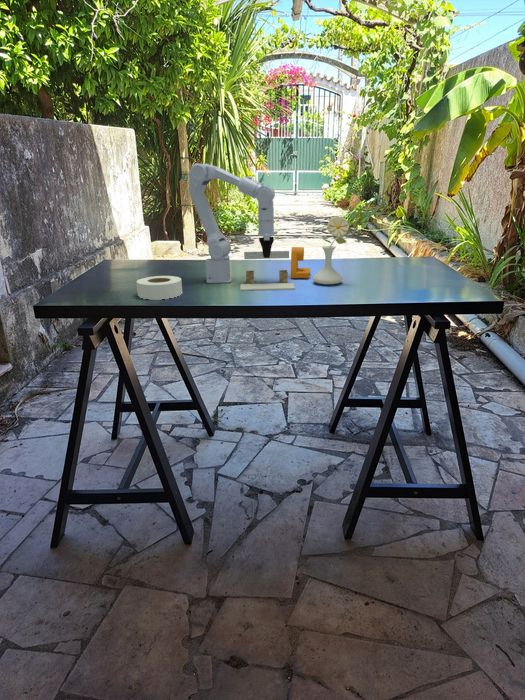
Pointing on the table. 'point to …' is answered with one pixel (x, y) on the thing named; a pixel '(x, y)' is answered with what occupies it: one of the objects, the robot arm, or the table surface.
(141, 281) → the roll of tape
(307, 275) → the bracket
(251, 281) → the post left
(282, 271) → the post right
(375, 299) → the table surface
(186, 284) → the table surface
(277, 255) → the rail
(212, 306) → the table surface
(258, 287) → the mat
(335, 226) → the flower in vase
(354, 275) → the table surface
